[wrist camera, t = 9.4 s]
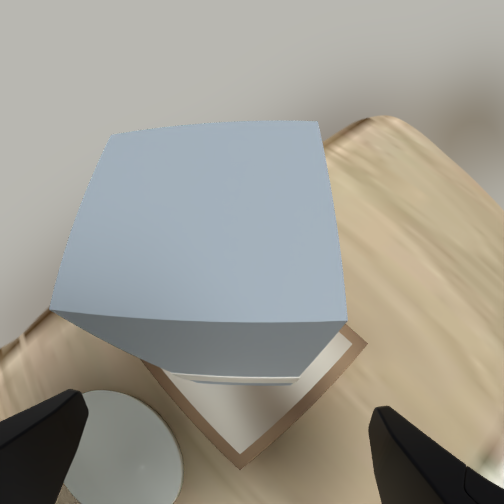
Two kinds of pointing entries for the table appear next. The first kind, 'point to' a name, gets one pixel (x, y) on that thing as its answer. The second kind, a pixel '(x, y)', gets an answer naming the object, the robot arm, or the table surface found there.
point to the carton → (209, 251)
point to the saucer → (125, 454)
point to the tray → (258, 401)
